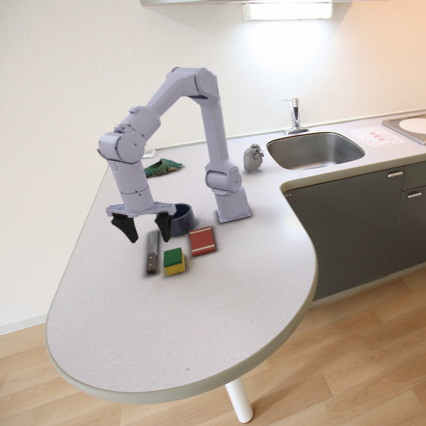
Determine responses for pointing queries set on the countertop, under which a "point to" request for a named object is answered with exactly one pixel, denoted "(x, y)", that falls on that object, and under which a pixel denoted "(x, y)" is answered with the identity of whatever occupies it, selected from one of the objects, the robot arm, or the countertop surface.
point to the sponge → (174, 261)
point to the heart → (253, 158)
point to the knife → (152, 253)
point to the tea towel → (202, 241)
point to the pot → (182, 219)
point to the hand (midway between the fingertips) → (151, 240)
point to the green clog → (161, 167)
